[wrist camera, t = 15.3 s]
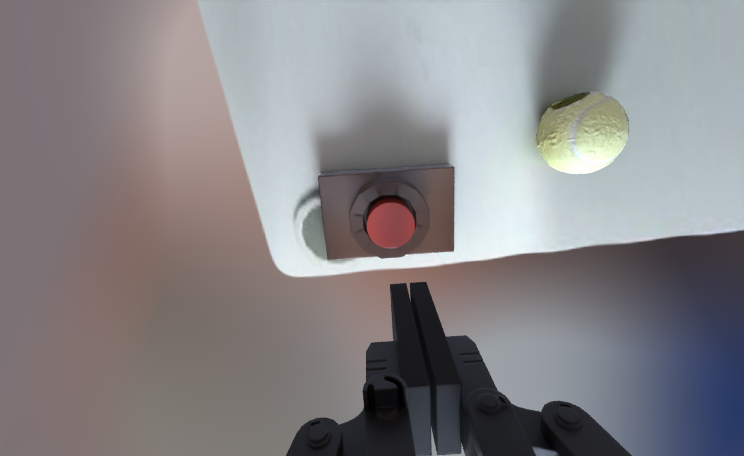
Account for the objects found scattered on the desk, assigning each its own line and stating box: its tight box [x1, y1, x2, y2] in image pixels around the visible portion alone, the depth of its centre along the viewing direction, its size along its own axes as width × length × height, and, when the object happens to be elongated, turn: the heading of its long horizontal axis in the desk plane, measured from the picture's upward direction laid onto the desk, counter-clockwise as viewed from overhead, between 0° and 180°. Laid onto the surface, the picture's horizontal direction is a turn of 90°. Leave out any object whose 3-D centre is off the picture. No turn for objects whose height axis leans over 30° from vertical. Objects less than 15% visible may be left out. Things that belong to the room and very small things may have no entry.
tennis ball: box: [536, 91, 629, 174], centre depth 29 cm, size 6×7×7 cm
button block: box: [318, 164, 454, 260], centre depth 32 cm, size 12×8×4 cm, turn 94°
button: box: [367, 198, 415, 248], centre depth 30 cm, size 4×4×2 cm
